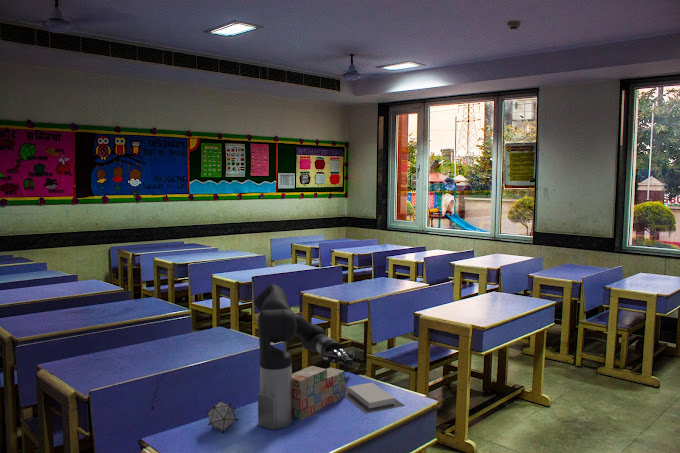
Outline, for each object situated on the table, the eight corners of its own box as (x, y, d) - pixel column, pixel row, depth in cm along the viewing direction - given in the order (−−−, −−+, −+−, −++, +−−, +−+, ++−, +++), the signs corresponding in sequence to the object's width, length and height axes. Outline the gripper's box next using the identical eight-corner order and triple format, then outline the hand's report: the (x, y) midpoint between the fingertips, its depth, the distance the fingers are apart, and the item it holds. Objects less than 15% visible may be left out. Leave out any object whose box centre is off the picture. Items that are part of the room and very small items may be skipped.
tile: (348, 386, 180) (369, 402, 167) (372, 382, 184) (394, 397, 171) (348, 392, 181) (369, 409, 167) (372, 388, 184) (394, 404, 171)
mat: (336, 391, 183) (336, 390, 183) (373, 385, 189) (373, 383, 189) (365, 415, 164) (365, 413, 164) (405, 407, 170) (405, 405, 170)
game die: (218, 440, 156) (214, 405, 161) (244, 431, 155) (240, 396, 160) (202, 436, 149) (198, 400, 154) (229, 427, 147) (225, 391, 152)
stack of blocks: (330, 394, 181) (330, 358, 180) (345, 398, 177) (345, 361, 176) (285, 415, 164) (285, 375, 163) (300, 421, 160) (300, 380, 160)
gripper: (313, 341, 202) (332, 354, 186) (345, 337, 208) (366, 349, 192) (313, 361, 203) (332, 376, 187) (345, 356, 208) (366, 370, 193)
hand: (349, 362), depth 190 cm, fingers closed
